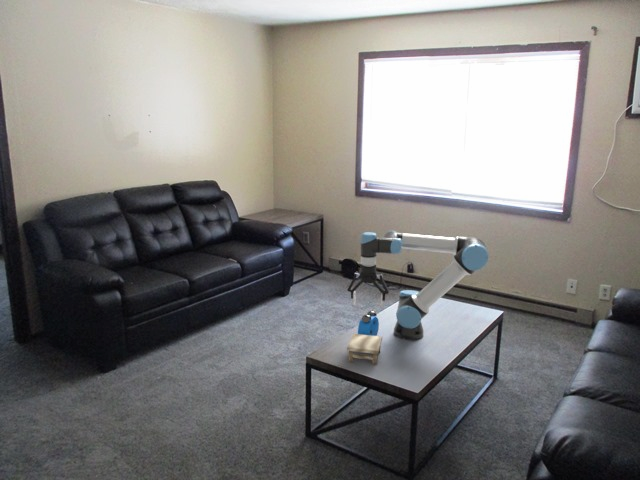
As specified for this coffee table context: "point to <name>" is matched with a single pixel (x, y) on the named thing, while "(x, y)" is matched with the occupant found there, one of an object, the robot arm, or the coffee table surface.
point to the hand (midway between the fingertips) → (367, 305)
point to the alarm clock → (369, 324)
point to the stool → (364, 347)
